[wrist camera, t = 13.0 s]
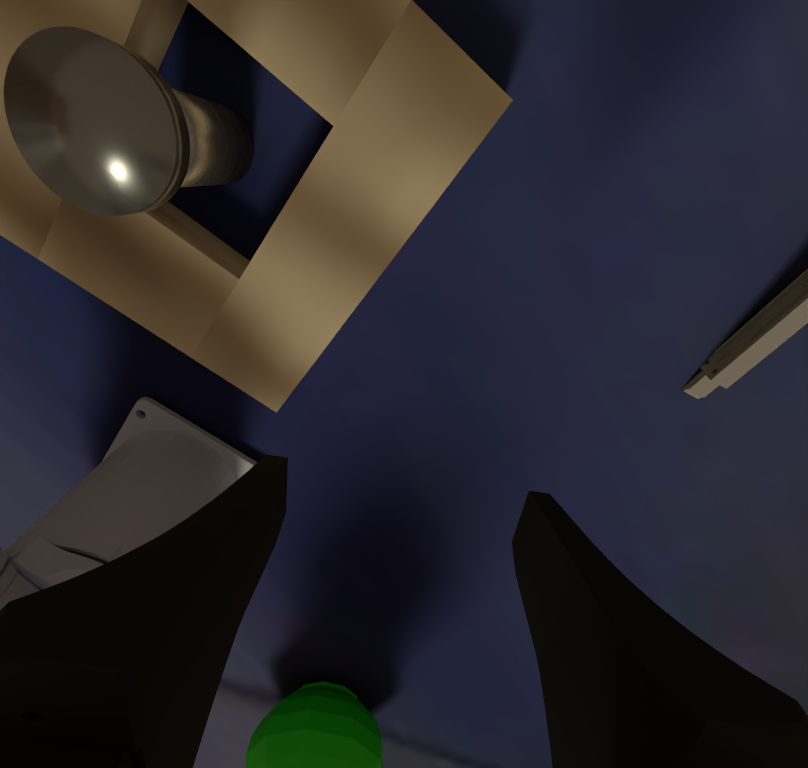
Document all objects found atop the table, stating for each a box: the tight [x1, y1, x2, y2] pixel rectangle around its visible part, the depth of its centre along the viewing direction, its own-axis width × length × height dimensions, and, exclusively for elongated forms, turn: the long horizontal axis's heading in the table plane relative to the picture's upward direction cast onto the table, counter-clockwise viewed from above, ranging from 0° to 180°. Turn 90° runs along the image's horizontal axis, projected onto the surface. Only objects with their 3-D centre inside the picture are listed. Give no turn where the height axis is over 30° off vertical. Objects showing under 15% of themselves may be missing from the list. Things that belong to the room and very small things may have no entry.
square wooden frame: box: [0, 0, 513, 412], centre depth 17 cm, size 16×16×2 cm
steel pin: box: [4, 26, 253, 216], centre depth 15 cm, size 4×4×8 cm
